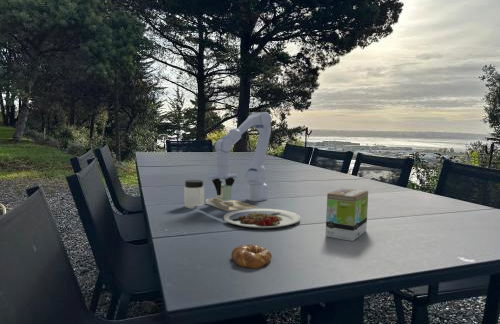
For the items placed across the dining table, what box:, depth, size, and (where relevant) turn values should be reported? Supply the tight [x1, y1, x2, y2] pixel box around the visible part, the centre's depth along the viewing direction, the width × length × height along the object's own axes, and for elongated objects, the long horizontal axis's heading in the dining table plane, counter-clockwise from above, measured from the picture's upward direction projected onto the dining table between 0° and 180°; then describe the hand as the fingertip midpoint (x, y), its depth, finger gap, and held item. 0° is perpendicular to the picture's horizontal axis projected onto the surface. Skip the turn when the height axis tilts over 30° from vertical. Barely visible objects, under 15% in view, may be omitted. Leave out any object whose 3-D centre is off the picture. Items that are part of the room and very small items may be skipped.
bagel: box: [230, 243, 272, 269], centre depth 100 cm, size 12×11×4 cm
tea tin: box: [216, 183, 233, 201], centre depth 172 cm, size 4×7×6 cm, turn 32°
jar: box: [183, 179, 205, 209], centre depth 171 cm, size 9×8×12 cm
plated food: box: [223, 208, 301, 229], centre depth 145 cm, size 30×30×3 cm
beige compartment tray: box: [205, 197, 257, 212], centre depth 170 cm, size 16×20×3 cm
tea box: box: [325, 187, 369, 242], centre depth 126 cm, size 15×10×15 cm, turn 148°
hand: (223, 194), depth 172 cm, fingers closed on tea tin, 4 cm apart
